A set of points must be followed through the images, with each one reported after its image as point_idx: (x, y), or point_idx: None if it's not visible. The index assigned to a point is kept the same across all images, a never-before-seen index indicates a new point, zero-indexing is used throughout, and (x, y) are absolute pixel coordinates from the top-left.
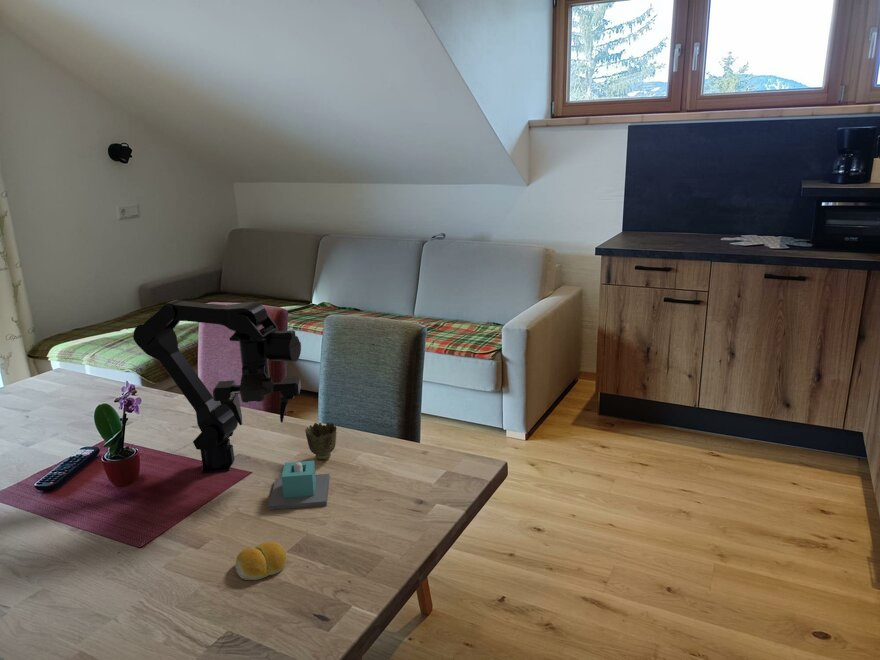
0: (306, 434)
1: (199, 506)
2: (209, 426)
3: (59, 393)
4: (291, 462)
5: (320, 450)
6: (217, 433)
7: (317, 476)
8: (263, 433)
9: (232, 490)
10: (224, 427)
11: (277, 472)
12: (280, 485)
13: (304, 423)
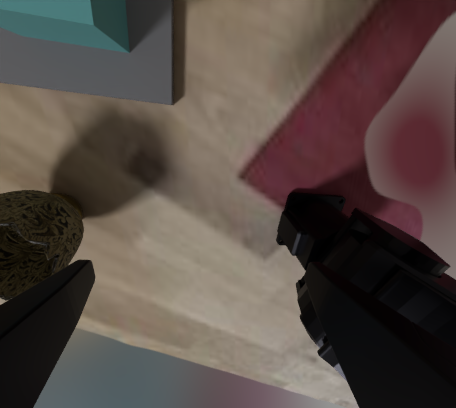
0: (65, 257)
1: (376, 11)
2: (446, 266)
3: None
4: (56, 15)
5: (25, 191)
6: (394, 235)
7: (27, 71)
8: (221, 319)
9: (287, 88)
10: (373, 264)
11: (176, 160)
12: (148, 41)
13: (148, 343)
